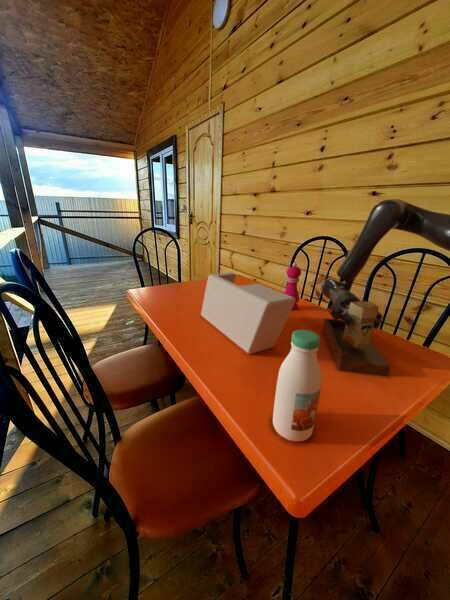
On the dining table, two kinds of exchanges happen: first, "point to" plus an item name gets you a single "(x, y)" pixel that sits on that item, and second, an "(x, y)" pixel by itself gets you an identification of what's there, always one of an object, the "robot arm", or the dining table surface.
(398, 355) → the dining table surface
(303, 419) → the milk bottle
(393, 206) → the robot arm
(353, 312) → the shoe polish box
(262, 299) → the stepped white block
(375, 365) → the dark brown tray
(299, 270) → the pepper mill
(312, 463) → the dining table surface
